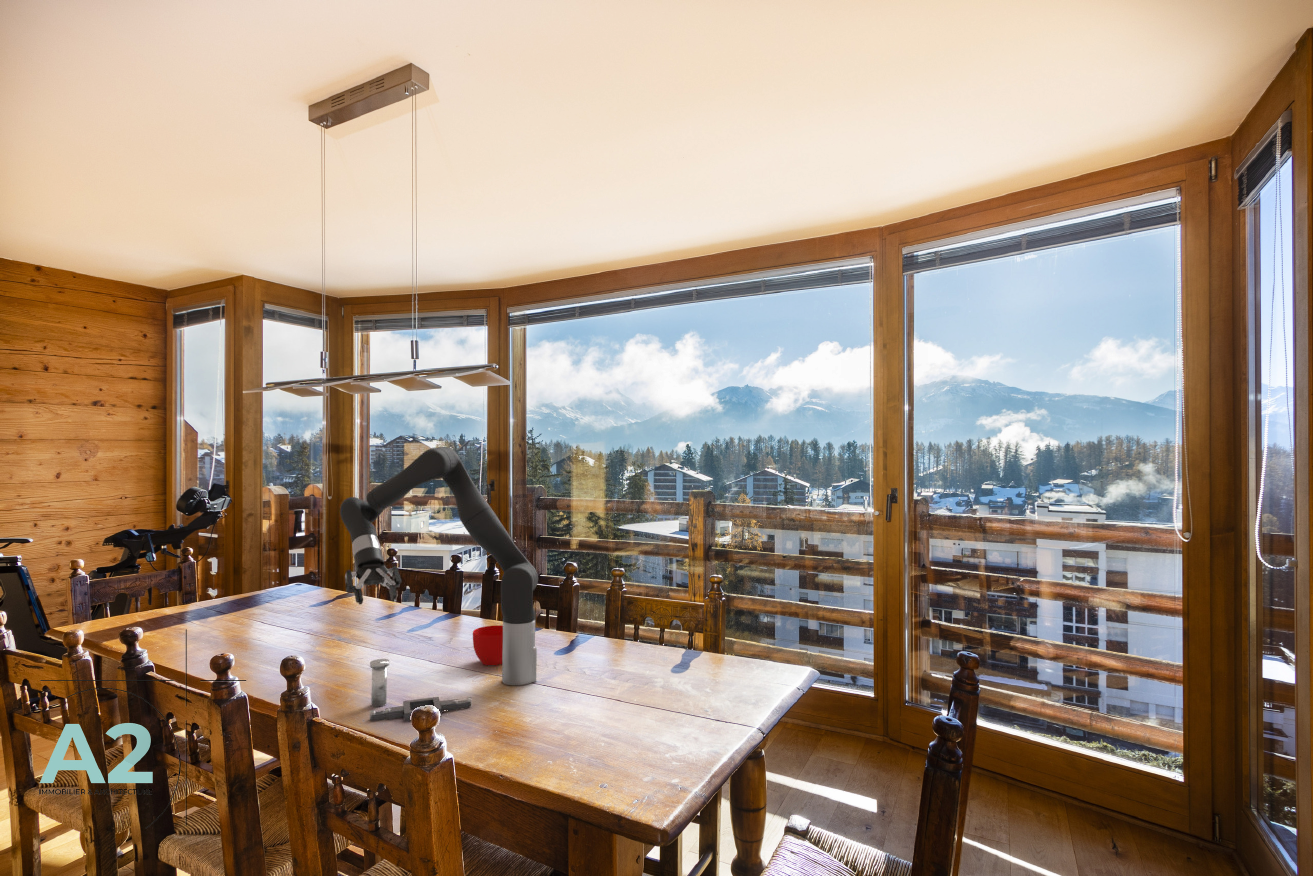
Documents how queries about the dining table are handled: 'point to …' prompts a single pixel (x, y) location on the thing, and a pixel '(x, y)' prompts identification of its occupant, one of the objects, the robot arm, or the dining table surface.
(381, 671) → the pin
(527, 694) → the dining table surface
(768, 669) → the dining table surface
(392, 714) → the tap wrench handle
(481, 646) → the ceramic cup
